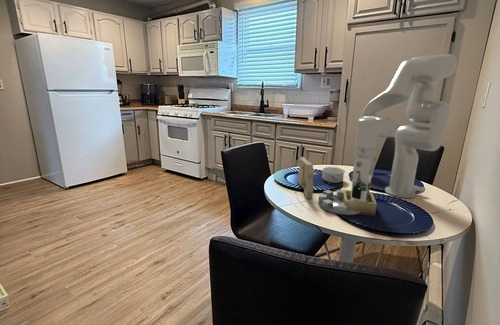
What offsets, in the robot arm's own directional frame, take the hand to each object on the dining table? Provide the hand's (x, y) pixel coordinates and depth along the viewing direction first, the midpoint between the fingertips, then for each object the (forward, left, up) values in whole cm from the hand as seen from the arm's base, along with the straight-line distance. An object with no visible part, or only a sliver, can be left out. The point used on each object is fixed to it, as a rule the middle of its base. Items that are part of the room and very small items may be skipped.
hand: (359, 194), depth 105 cm
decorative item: (-17, -43, -7) cm, 47 cm away
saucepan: (+3, -31, -7) cm, 32 cm away
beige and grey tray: (+4, -3, -7) cm, 8 cm away
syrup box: (0, 0, -5) cm, 5 cm away
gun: (+19, -20, -7) cm, 28 cm away
